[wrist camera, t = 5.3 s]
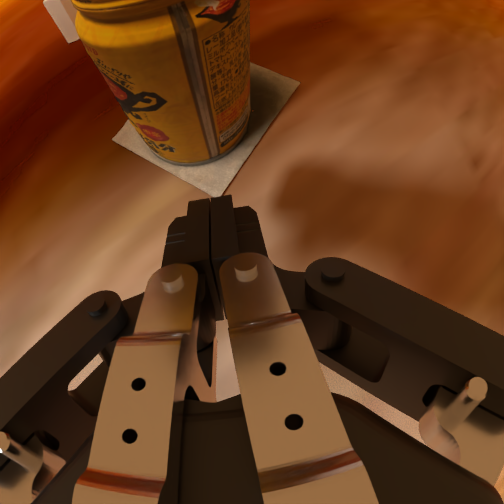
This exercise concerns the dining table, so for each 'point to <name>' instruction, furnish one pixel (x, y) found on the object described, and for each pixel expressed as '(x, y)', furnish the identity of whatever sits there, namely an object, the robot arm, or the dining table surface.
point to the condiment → (184, 82)
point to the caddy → (63, 17)
